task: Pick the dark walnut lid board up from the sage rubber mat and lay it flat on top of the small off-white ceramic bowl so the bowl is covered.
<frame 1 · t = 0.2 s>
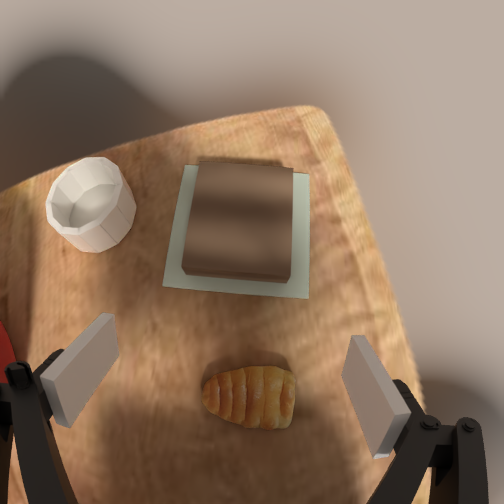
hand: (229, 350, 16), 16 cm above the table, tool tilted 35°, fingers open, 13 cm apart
bowl: (100, 216, 36), on the table
mat: (241, 225, 36), on the table
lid: (241, 224, 36), resting on mat
pastry: (255, 397, 30), on the table
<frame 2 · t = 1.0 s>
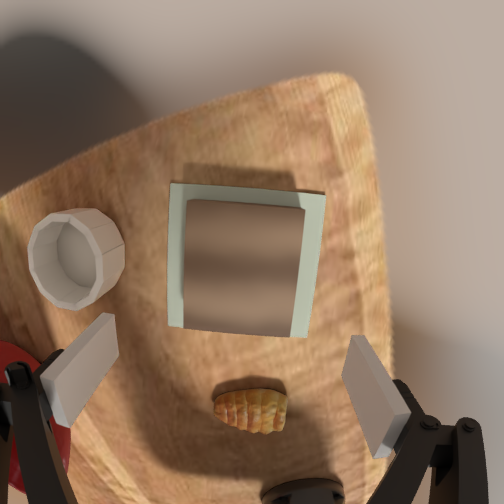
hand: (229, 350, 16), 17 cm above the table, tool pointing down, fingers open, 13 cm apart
mixing bowl: (31, 382, 38), on the table
bowl: (89, 250, 33), on the table
mat: (242, 264, 33), on the table
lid: (241, 265, 33), resting on mat
pastry: (255, 404, 38), on the table
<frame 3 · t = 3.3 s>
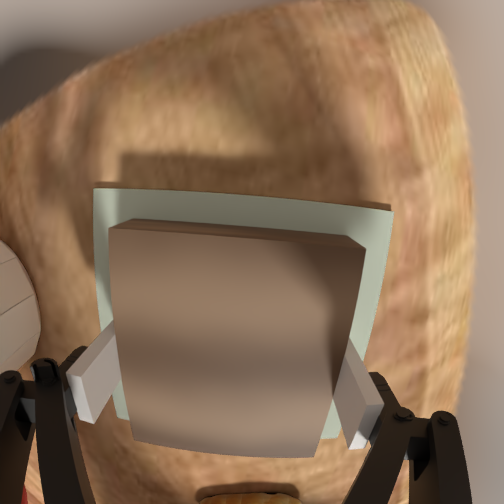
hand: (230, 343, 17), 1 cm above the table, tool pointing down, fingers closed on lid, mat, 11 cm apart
mat: (231, 339, 17), on the table
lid: (230, 341, 17), resting on mat, touching gripper
pastry: (256, 503, 22), on the table
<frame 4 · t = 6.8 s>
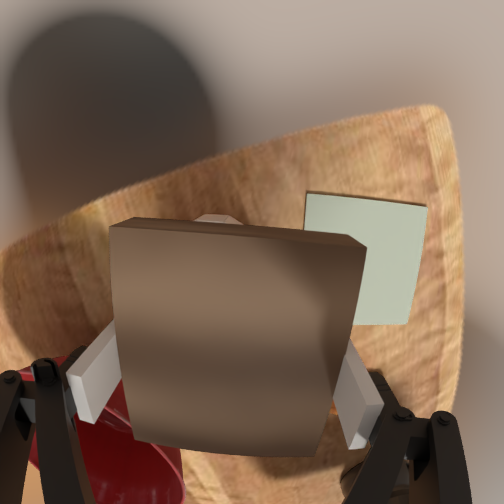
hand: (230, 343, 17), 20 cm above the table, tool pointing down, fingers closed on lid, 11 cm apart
mixing bowl: (116, 394, 42), on the table
bowl: (216, 256, 37), on the table
mat: (364, 264, 37), on the table
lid: (231, 341, 17), point 20 cm above the table, touching gripper
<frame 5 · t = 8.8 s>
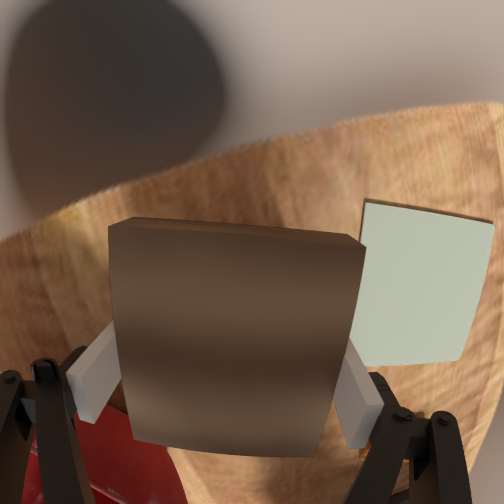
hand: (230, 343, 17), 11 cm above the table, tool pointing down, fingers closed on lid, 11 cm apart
mixing bowl: (110, 436, 33), on the table
mat: (424, 294, 27), on the table
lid: (230, 340, 17), point 10 cm above the table, touching gripper
when the fingers open (8 cm above the table, at t = 10.4 s): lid drops 1 cm, resting on bowl.
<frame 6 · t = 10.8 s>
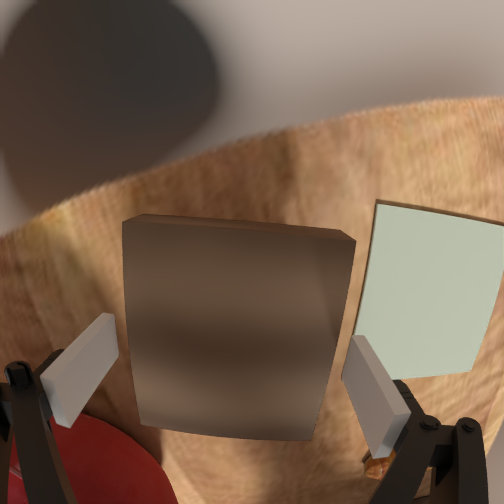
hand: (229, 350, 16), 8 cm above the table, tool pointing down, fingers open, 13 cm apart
mixing bowl: (102, 449, 30), on the table
mat: (437, 303, 24), on the table
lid: (232, 329, 18), point 6 cm above the table, touching bowl
pastry: (400, 452, 30), on the table
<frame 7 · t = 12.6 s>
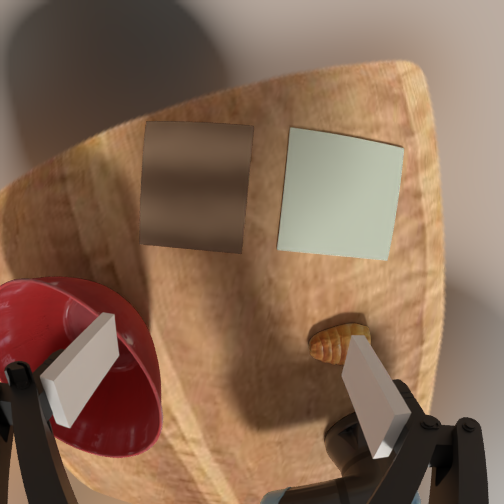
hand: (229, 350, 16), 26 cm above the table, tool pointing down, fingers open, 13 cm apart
mixing bowl: (103, 329, 45), on the table
mat: (343, 196, 39), on the table
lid: (197, 184, 33), point 6 cm above the table, touching bowl
pastry: (341, 340, 46), on the table
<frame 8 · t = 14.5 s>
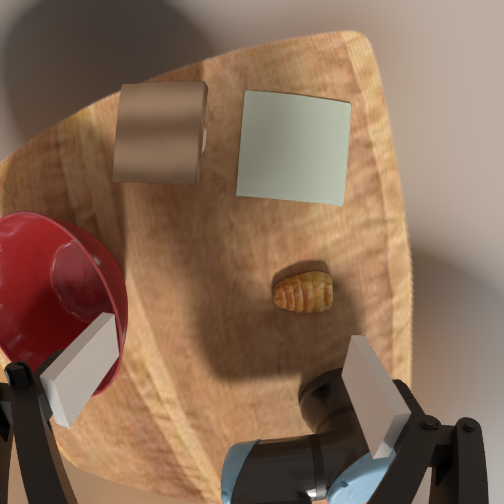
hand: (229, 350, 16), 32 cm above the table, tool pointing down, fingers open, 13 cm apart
mixing bowl: (84, 280, 49), on the table
mat: (295, 146, 44), on the table
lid: (162, 133, 38), point 6 cm above the table, touching bowl
pastry: (306, 290, 49), on the table
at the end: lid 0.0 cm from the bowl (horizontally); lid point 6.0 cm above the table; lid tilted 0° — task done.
